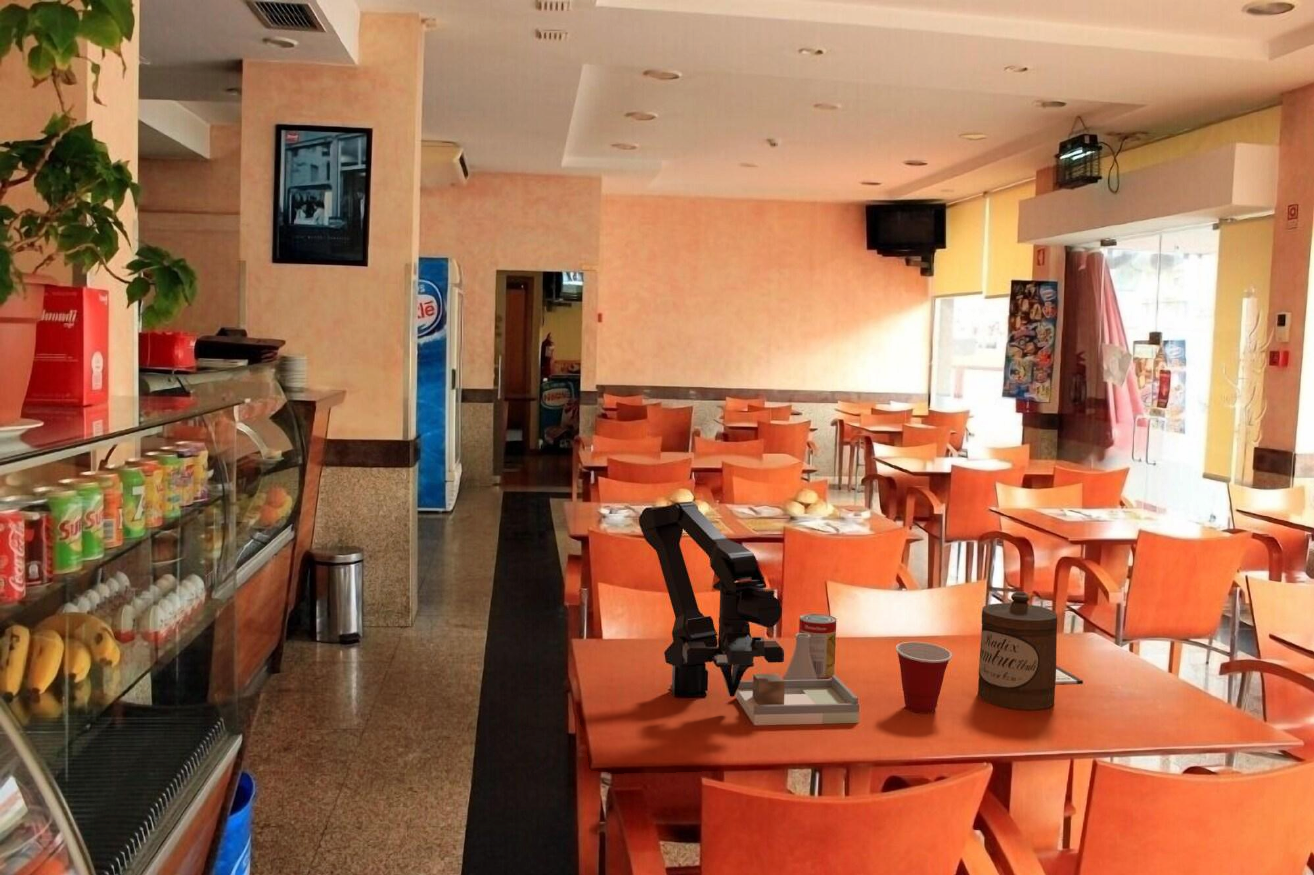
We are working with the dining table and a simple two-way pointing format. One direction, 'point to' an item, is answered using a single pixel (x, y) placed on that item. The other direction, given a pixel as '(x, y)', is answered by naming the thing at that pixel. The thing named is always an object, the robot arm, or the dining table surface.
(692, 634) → the robot arm
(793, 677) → the flask
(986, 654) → the wooden container
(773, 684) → the walnut block
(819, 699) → the box
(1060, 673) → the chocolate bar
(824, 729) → the dining table surface
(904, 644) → the plastic cup
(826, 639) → the canned food
